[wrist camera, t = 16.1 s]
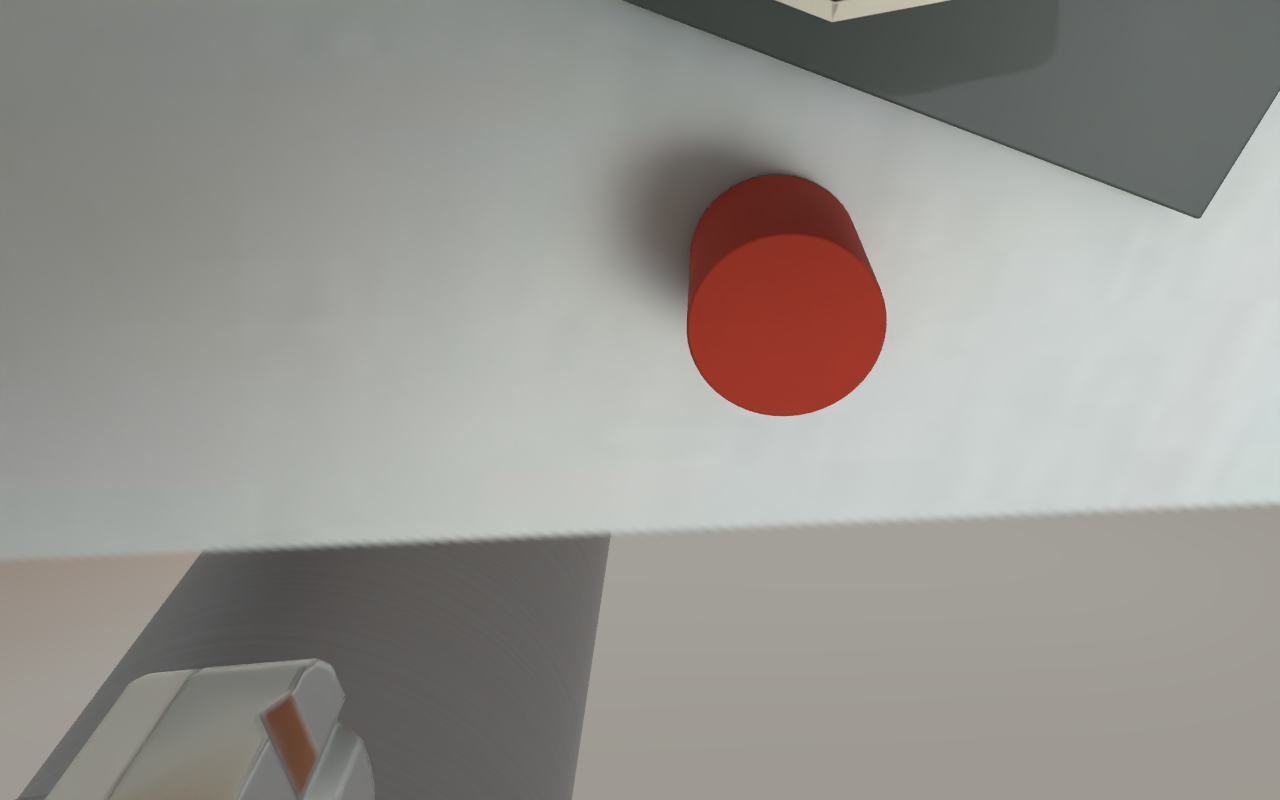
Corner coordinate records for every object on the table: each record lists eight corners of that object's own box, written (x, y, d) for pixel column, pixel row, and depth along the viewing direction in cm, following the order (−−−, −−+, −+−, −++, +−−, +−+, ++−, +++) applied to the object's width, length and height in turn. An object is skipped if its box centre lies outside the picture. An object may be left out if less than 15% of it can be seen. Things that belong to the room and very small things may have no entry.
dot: (817, 354, 21) (836, 441, 18) (666, 302, 21) (659, 381, 17) (886, 208, 19) (921, 274, 16) (726, 149, 19) (729, 204, 16)
